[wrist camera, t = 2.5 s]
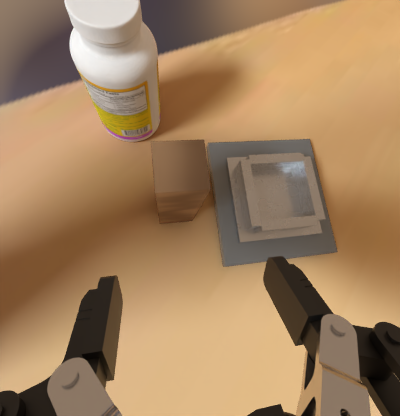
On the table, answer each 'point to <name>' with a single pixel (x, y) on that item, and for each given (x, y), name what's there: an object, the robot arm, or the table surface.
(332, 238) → the coaster
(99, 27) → the supplement bottle
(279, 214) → the open square frame
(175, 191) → the brown wooden block
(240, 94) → the table surface
